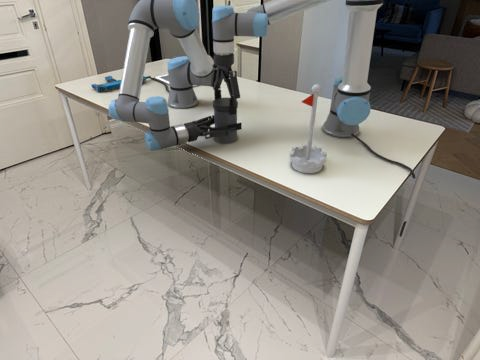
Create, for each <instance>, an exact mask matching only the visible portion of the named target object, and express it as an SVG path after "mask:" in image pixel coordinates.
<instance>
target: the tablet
mask: <svg viewBox="0 0 480 360" xmlns="http://www.w3.org/2000/svg"><path fill="white" fill-rule="evenodd" d="M153 78H154V79H157V80H159V81H162V82H164V83H165V84H166V85H168V86H170V83H169V75H168V73H167V74H163V75H157V76H154V77H153ZM198 86H200V85H193V88H195V87H198Z"/></svg>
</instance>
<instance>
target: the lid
mask: <svg viewBox="0 0 480 360" xmlns="http://www.w3.org/2000/svg"><path fill="white" fill-rule="evenodd" d="M229 98H230V97H221V98H218V99H215V98H214V99H213V101H212V109H213V110H214V109H215V110H217V111H222V112H228V111H230V107H229ZM238 107H239V102H238V100H237V106H236V109H237V110H238Z"/></svg>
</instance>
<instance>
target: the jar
mask: <svg viewBox="0 0 480 360" xmlns="http://www.w3.org/2000/svg"><path fill="white" fill-rule="evenodd" d="M213 115H214V124H213V125H214V127H227V126H228V125H232V124H236V123H238V108H237V109H236V114H234V115H230V111H228V112H222V111H217V110H215V109H213ZM214 140H215V141H216V142H217V143H222V144H231V143H233V142H236V141H237V140H238V130H236V131H232V132H229V136H223V137H215V138H214Z"/></svg>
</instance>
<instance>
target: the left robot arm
mask: <svg viewBox="0 0 480 360" xmlns="http://www.w3.org/2000/svg"><path fill="white" fill-rule="evenodd" d="M199 24H200V12H199V6H198V3H197V0H139V1H138V2H137V3H136V4H135V6H134V7H133V9H132V10H131V13H130V15H129V19H128V23H127V29H128V31H129V34H128V41H127V44H126V51H125V57H124V62H123V67H122V74H121V78H120V80H121V85H120V87H119V91H118V96H117V98H116V99H112V100H111V101H110V103H109V104H108V114H109V116H110V117H111V118H112V119H113V120H116V121H122V122H133V123H139V124H148V127H149V130H148V131H145V132H144V141H145V145H146V147H147V150H149V151H150V152H153V151H159V150H164V149H168V148H171V147H174V146H181V145H184V144H187V143H193V142H196V141H197V140H198V139H199V137H204V140H209V139H213V138H214V139H215V137H223V136H229V132H232V131H236V130H237V131H240V130H243V129H242V128H243V127H242V126H243V123H242V122H237V123H236V124H232V125H228V126H227V127H215V126H212V125H215V124H214V114H213V115H208V116H205V117H203V118H200V119H197V120H191V121H189V122H184V123H180V124H175V125H172V126H171V123H170V122H171V121H170V113H169V107H171V108H173V109H189V108H193V107H195V106H197V105H198V97H197V95H196V93H195V90H194V87H193V85H199V86H201V87H210V88H212V87H211V80H212V72H213V64H214V58H213V57H212V56H211V55H209V54H208V53H207V50H206V48H205V46H204V43H203V41H202V39H201V36H200V34H199V32H198V29H197V28H198V27H199ZM157 29H161V30H163V29H164V30H168V32H169V33H170V35H171V36H172V37H174V38H175V39H177V40H178V42H179V44H180V46H181V47H182V50H183V52H184V53H185V55H182V56H177V57H173V58H170V59H169V60H168V61H167V74H168V75H169V83H170V85H169V88H168V84H167V83H165V82H162V81H160V80H158V79H156V78H154V77H151V78H149V79H151V80H153V81H155V82H158V83H160V84H162V85H164V87H165V90H166V91H167V92H168V93H169V94H168V99H166V98H165V97H163V96H157V95H156V96H149V97H148V98H146V99H145V101H140V97H141V93H142V92H141V91H142V87H143V82H142V81H143V76H145V70H146V63H147V58H148V53H149V47H150V41H151V38H152V37H154V36H155V35H154V34H155V30H157ZM168 106H169V107H168Z"/></svg>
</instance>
